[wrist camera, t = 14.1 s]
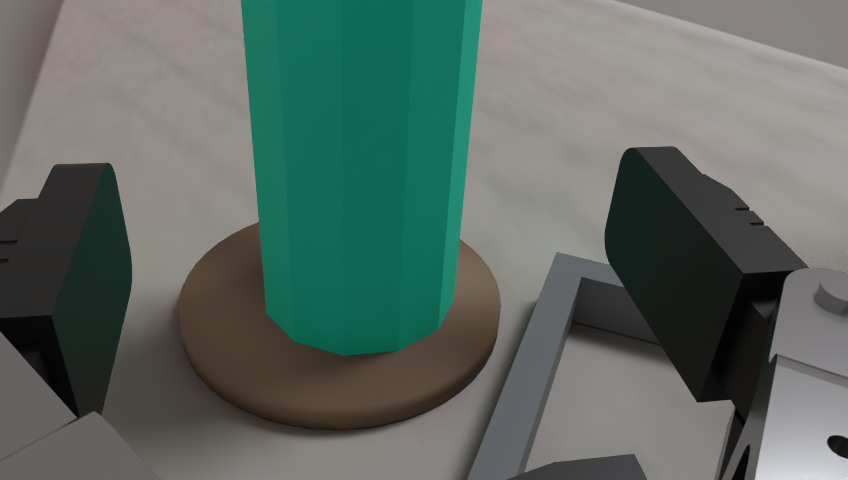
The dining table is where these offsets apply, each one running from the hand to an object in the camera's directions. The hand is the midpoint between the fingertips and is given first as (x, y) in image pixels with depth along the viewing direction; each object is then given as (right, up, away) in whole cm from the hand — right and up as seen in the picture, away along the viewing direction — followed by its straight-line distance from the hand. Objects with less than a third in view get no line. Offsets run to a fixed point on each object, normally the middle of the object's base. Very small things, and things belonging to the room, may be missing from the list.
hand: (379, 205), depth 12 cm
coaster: (-2, -3, +12) cm, 13 cm away
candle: (-1, -2, +12) cm, 12 cm away
